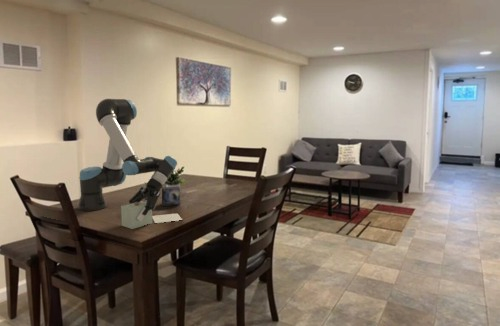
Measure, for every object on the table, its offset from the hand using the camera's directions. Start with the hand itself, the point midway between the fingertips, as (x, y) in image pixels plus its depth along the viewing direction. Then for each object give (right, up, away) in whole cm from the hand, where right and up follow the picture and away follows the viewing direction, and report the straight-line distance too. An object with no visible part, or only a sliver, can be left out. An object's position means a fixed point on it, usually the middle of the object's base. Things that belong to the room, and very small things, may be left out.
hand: (131, 218), depth 179 cm
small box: (+10, +2, +42) cm, 43 cm away
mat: (+14, -2, +13) cm, 19 cm away
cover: (+2, -4, +3) cm, 5 cm away
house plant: (-1, 0, +32) cm, 32 cm away
